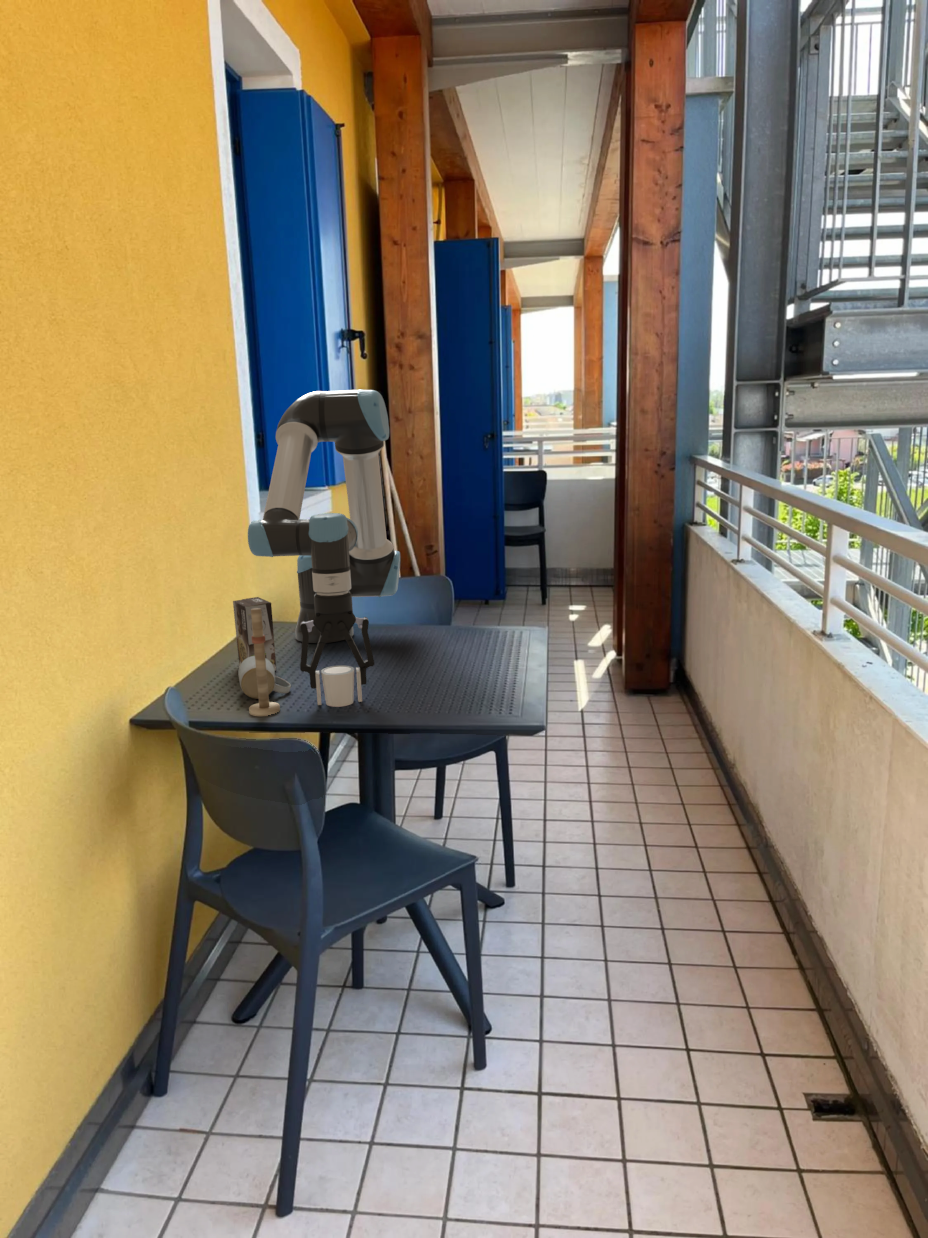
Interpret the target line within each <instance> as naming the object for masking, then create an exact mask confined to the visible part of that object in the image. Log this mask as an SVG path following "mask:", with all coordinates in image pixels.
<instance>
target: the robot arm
mask: <svg viewBox="0 0 928 1238" xmlns="http://www.w3.org/2000/svg"><path fill="white" fill-rule="evenodd" d="M389 425H390V424H389V416H388V411H387V407H386V403H385V400H384V398H383V395H382V394H381V393H380V392H379V391H377V390H374V389H362V388H361V389H360V388H359V389H346V390H344V389H343V390H328V391H327V390H316V391H312V392H308V393H306V394H304V395H302V396H301V397H299V398H297V399H296V400H295V401H294V402H293V403H292V404H291V405H290V406H289V407H288V408H286V410H285V411H284V413H283V415H282V416H281V418H280V420H279V422H278V424H277V426H276V427H277V428H276V431H275V440H276V441H275V442H276V443H277V445H278V446H277V450H276V455H275V459H274V464H273V469H272V472H271V473H272V474H271V479H270V484H269V488H268V494H267V497H266V503H265V507H264V511H263V512H264V513H263V517H262V519H258V520H253V521H251V523H249V525H248V527H247V528H248V529H247V543H248V547H249V550H250V552H251V554H252V555H253V556H256V557H269V558H274V557H291V556H292V557H293V556H294V557H296V556H298V557H297V560H296V561H297V565H296V566H297V567H296V568H297V569H296V574H297V581H298V582H297V584H298V594H299V614H298V617H297V622H296V627H295V629H294V631H295V640H297V641H298V642H301V650H300V651H301V652H300V663H299V665H300V666H299V669H300V671H301V672H305V673H308V674H309V683H310V688H311V690H313V689H316V700H317V702H316V703H317V706H322V696H321V695H322V693H321V681H320V678H321V677H320V670H317V668H318V665H319V662H320V659H321V658H322V657H321V656H322V654H323V651H324V648H325V646H326V644H328V643H329V644H330V643H336V642H340V641H341V642H343V641H345V642H346V643H347V645H348V647H349V649H350V651H351V654H352V656H353V657H354V659H355V661H356V663H357V666H358V667H355V672H356V688H357V689H356V690H357V701H358V702H359V703H360V702H361V703H362V702H363V694H362V693H363V692H362V686H363V685H367V669H368V668H370V667H373V666H375V659H374V654H373V651H372V650H373V649H372V646H371V640H370V636H369V631H368V630H369V624H370V622H369V618H368V617H367V616H363V617H357V616H355V614H354V611H353V610H354V609H353V598H362V597H364V598H366V597H378V598H382V597H390V596H394V595H395V594H396V593H397V591H398V587H399V581H400V569H401V552H400V551H399V550H396V549H395V550H394V544H393V542H391V541H390V540H389V539H387V531H386V530H387V529H386V520H385V509H384V498H383V496H384V495H383V487H382V478H381V468H380V457H379V453H380V451H382V449H383V448H384V445H385V441H387V440H389V437H390V426H389ZM321 442H325V443H327V442H329V443H330V442H332V443H333V442H334V447H335V448H334V449H335V451H336V452H337V453H338V454H340V455H341V456H342V461H343V471H344V479H345V486H346V487H345V488H346V495H347V502H348V503H347V504H348V510H349V511H348V512H349V518H348V517H347V516H346V515H345V514H343V513H340V512H339V513H337V512H327V513H318V514H313V515H311V516H310V517H309V519H308V518H306V519H304V518H303V519H301V514H302V507H303V503H304V502H303V501H304V496H305V495H304V494H305V490H306V483H307V478H308V473H309V467H310V462H311V455H312V453H313V452H314V451H315V450H316V449H317V446H318V443H321ZM355 624H357V627H358V629H360V630H361V631H360V632H361V635H362V640H363V646H364V648H365V654H366V659H365V660H364V659H363V657H362V654H361V652H360V650H359V648H358V646H357V645H356V643H355V640H354V639H353V637H354V634H355V633H354V625H355ZM309 644H316V647H315V651H314V653H313V656H312V659H311V662H310V664H308V663H307V661H308V651H309Z"/></svg>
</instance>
